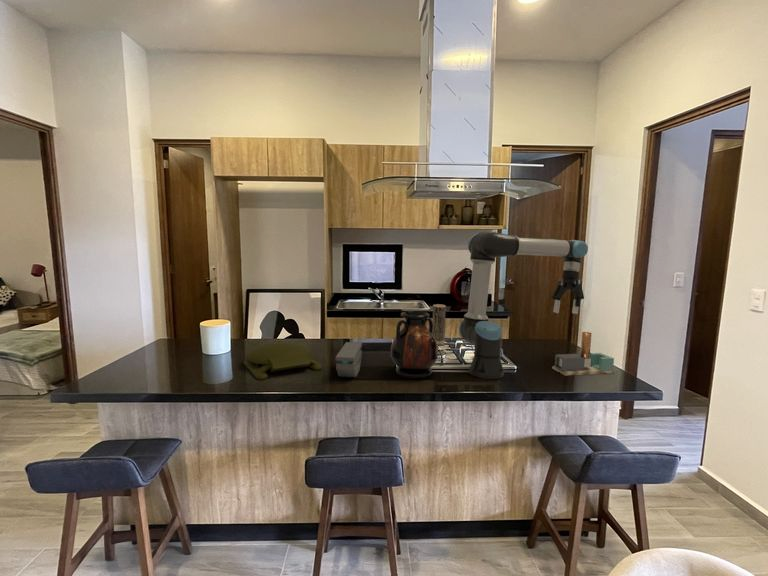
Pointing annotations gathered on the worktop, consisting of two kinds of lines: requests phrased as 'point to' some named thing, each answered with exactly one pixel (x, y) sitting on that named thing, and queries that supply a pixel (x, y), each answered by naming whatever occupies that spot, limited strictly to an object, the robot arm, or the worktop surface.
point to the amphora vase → (414, 346)
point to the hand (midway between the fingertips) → (565, 313)
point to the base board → (586, 371)
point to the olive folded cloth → (278, 358)
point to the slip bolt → (584, 349)
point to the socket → (602, 361)
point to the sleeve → (570, 362)
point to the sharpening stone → (349, 360)
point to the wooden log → (439, 323)
